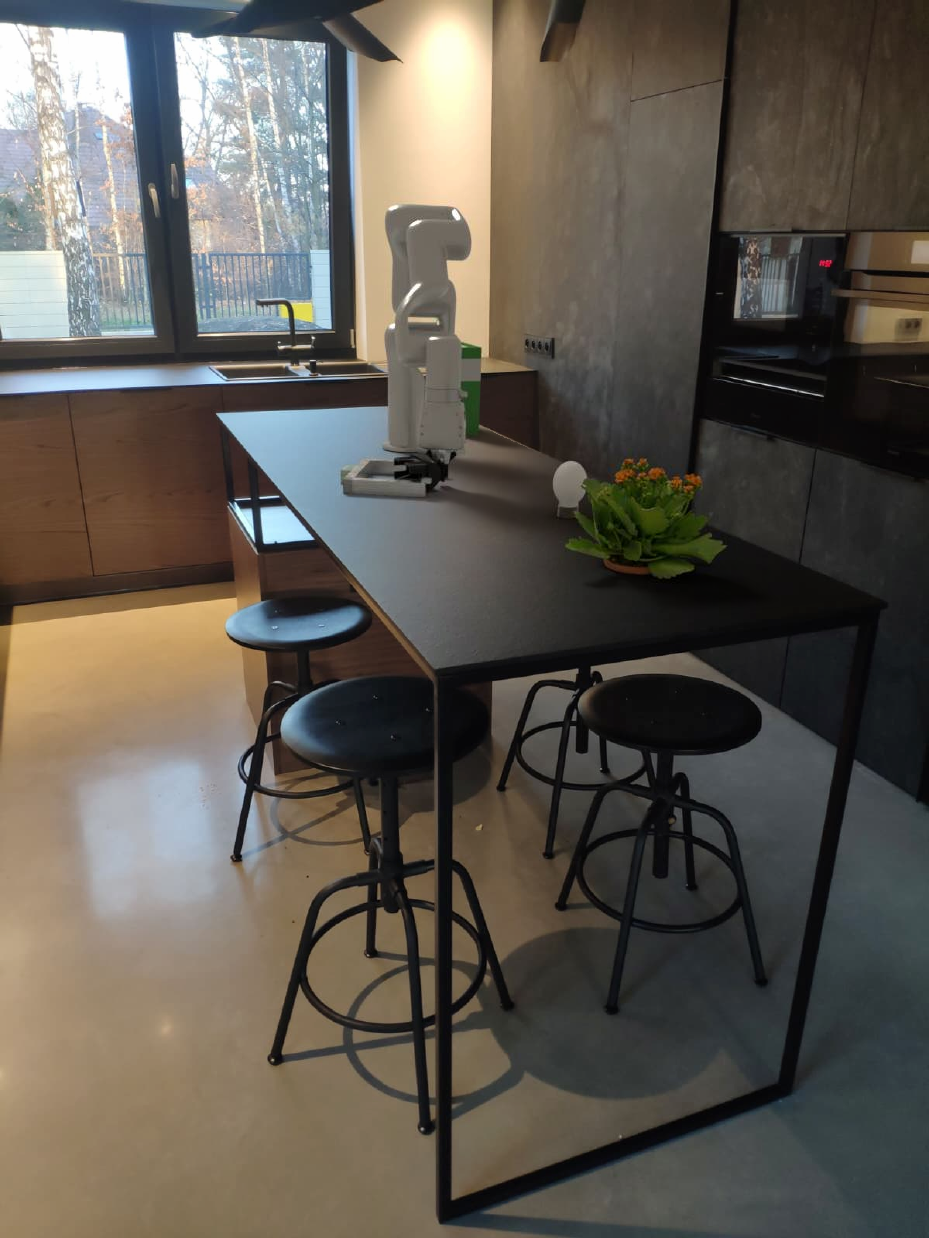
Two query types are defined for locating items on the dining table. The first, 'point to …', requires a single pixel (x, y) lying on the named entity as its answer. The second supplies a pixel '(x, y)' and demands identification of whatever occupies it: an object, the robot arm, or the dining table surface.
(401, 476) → the end cap
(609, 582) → the dining table surface
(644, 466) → the potted flower
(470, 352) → the green white box
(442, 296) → the robot arm
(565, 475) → the light bulb
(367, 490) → the mounting bracket
